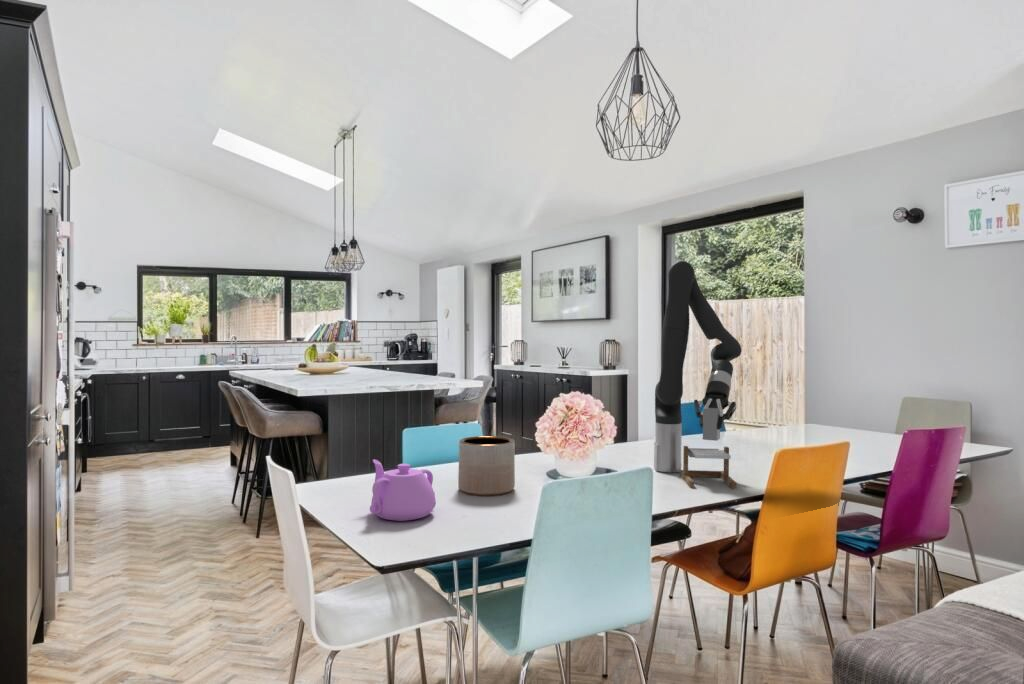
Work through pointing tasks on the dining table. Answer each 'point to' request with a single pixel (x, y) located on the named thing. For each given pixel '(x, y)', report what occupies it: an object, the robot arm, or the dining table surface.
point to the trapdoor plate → (708, 453)
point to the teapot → (402, 493)
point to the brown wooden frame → (687, 473)
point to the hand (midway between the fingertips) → (710, 427)
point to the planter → (486, 465)
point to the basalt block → (710, 424)
